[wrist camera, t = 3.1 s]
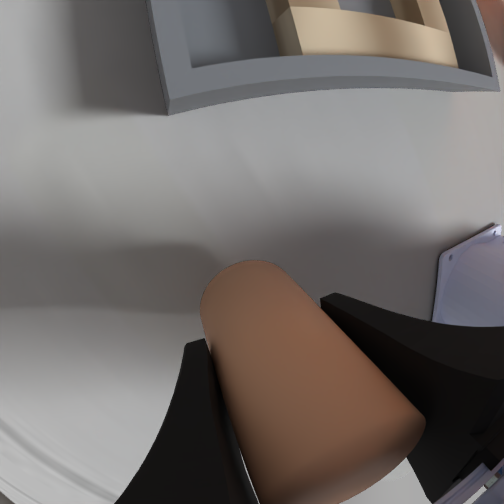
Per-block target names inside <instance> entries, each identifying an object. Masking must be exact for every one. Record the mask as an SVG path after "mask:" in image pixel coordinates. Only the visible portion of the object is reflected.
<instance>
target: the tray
mask: <svg viewBox="0 0 504 504" xmlns="http://www.w3.org/2000/svg"><path fill="white" fill-rule="evenodd" d="M439 2H440V5H441V8H442V11H443V14H444V17H445V20H446V23H447V26H448V29H449V33H450V36H451V40H452V44H453V47H454V51H455V55H456V59H457V64H458V68H459V69H457V68H453V67H448V66H443V65H437V64H432V63H426V62H419V61H412V60H404V59H395V58H385V57H373V56H355V55H300V56H282V57H280V54H279V50H278V46H277V42H276V38H275V34H274V30H273V26H272V23H271V19H270V15H269V11H268V8H267V4H266V1H265V0H146V5H147V11H148V17H149V23H150V29H151V34H152V40H153V45H154V50H155V55H156V61H157V66H158V71H159V76H160V80H161V85H162V90H163V95H164V99H165V104H166V108H167V113H168V116H169V115H173V114H177V113H181V112H185V111H189V110H193V109H198V108H202V107H207V106H211V105H216V104H221V103H226V102H232V101H237V100H243V99H249V98H255V97H262V96H269V95H277V94H285V93H294V92H304V91H315V90H329V89H348V88H408V89H427V90H440V91H450V92H464V91H497V92H500V87H499V82H498V76H497V72H496V67H495V62H494V58H493V54H492V50H491V46H490V42H489V39H488V35H487V32H486V29H485V25H484V22H483V19H482V16H481V13H480V10H479V8H478V5H477V2H476V0H439ZM338 3H339V6H340V9H341V10H347V11H355V12H362V13H369V14H374V15H380V16H385V17H390V18H395V19H396V17H395V14H394V11H393V8H392V5H391V2H390V0H338Z"/></svg>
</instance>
